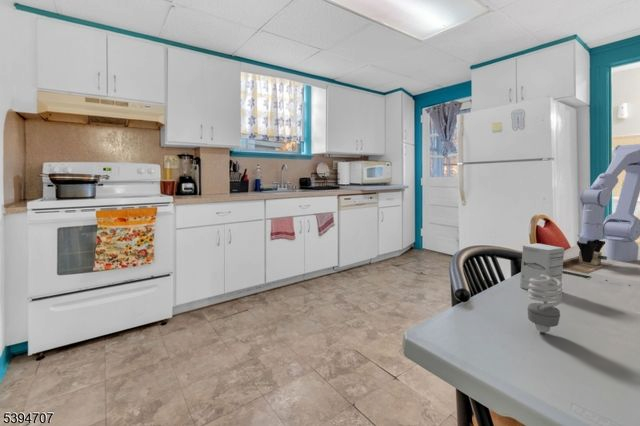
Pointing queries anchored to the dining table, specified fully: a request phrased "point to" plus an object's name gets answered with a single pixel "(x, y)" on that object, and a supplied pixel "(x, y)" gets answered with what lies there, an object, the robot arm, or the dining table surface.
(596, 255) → the marking gauge
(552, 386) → the dining table surface
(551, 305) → the light bulb
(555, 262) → the supplement box
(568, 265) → the board
